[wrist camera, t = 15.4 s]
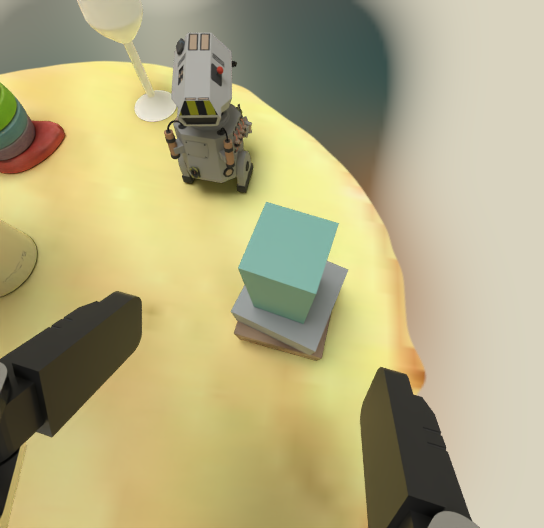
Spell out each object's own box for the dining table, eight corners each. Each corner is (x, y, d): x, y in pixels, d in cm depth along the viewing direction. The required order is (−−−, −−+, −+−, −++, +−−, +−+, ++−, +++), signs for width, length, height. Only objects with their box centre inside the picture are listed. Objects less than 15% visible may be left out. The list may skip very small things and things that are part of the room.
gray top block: (237, 320, 30) (230, 311, 26) (270, 254, 33) (269, 236, 29) (309, 355, 29) (315, 351, 25) (338, 284, 31) (348, 269, 27)
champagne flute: (149, 128, 45) (23, -118, 23) (126, 104, 47) (-12, -146, 24) (185, 106, 47) (100, -145, 24) (161, 83, 48) (62, -169, 26)
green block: (253, 306, 26) (237, 267, 17) (271, 260, 28) (266, 201, 18) (303, 324, 25) (316, 294, 16) (319, 276, 27) (338, 223, 18)
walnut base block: (239, 338, 34) (233, 333, 30) (261, 267, 37) (259, 253, 33) (315, 360, 33) (321, 358, 29) (332, 285, 36) (339, 273, 32)
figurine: (262, 138, 44) (256, 27, 30) (243, 204, 40) (225, 110, 26) (204, 129, 45) (171, 16, 31) (179, 192, 41) (129, 95, 27)
